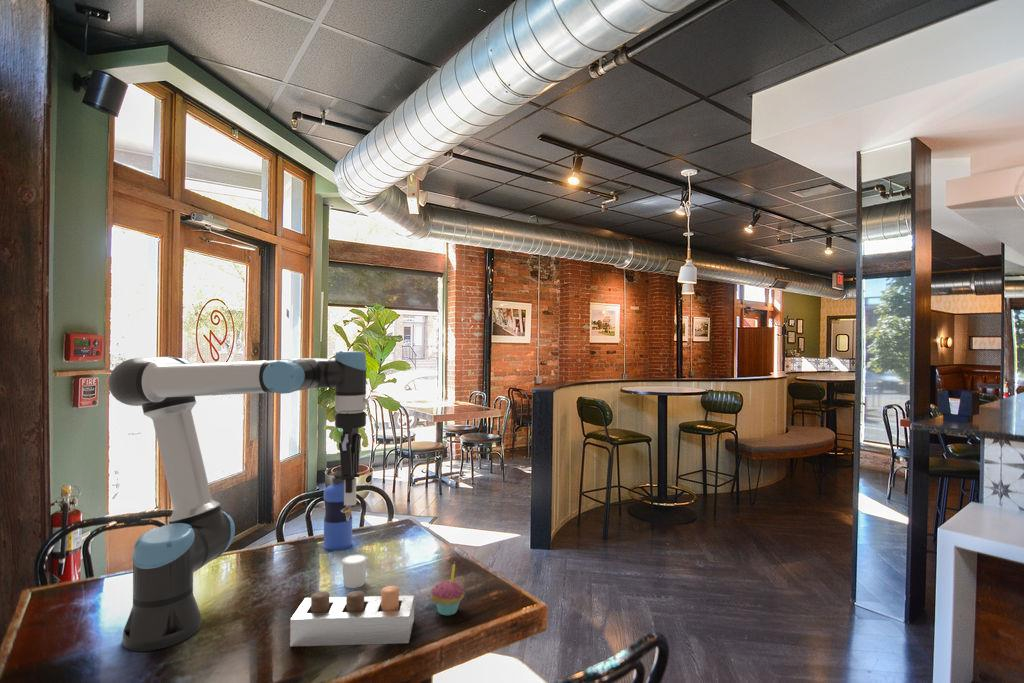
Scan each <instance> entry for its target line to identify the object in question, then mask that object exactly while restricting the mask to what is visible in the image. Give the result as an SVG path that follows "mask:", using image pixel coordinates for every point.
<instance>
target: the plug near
mask: <svg viewBox="0 0 1024 683" xmlns="http://www.w3.org/2000/svg"><path fill="white" fill-rule="evenodd" d="M329 597H330V593H329V592H328V591H318V592H315V593H313V594H312V595H311V596H310V598H311V613H328V612H329Z"/></svg>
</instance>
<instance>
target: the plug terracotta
mask: <svg viewBox="0 0 1024 683" xmlns="http://www.w3.org/2000/svg"><path fill="white" fill-rule="evenodd" d="M380 591H381V592H380V594H381V611H399V596H400V587H398V586H396V585H387V586H384V587H382V589H381V590H380Z"/></svg>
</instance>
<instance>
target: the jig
mask: <svg viewBox="0 0 1024 683" xmlns="http://www.w3.org/2000/svg"><path fill="white" fill-rule="evenodd" d="M414 621H415V595H399V611H381V596H379V595H377V596H375V595H374V596H370V595H369V596H364V612H346V596H335V597H334V596H333V597H332V596H329V612H328V613H311V597H304V599H303V601H302V602H301V603H300V605H299V606H298V608H297V609H296V611H295V612H294V613H293V615H292V617H290V620H289V622H290V631H289V632H290V633H289V635H290V636H289V638H290V642H289V646H290V647H291V648H292V647H317V646H319V647H320V646H321V647H322V646H323V647H324V646H326V647H327V646H350V645H351V646H352V645H353V646H356V645H358V646H359V645H361V646H362V645H388V644H389V645H390V644H409V643H410V639H411V635H412V632H413V631H412V630H413V626H414Z"/></svg>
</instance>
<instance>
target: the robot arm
mask: <svg viewBox="0 0 1024 683" xmlns="http://www.w3.org/2000/svg"><path fill="white" fill-rule="evenodd" d="M366 356H367V355H366V353H365V351H362V350H337V351H336V352H335V356H334V357H333V358H314V357H313V358H309V357H308V358H306V357H300V358H292V359H289V358H288V359H276V360H275V359H273V360H254V361H253V360H251V361H231V362H230V361H229V362H209V363H208V362H206V363H203V362H202V363H192V362H190V361H189V360H186V359H184V358H181V357H173V356H159V357H158V356H157V357H134V358H130V359H127V360H125V361H122V362H120V363H119V364H117V365H116V366H115V367H114V368H113V369H112V371H111V372H110V373H109V377H108V381H107V382H108V389H109V391H110V394H111V395H112V396H113V398H114V399H115V400H117V401H119V402H120V403H122V404H125V405H127V406H133V407H139V406H141V408H142V411H143V415H144V416H146V417H148V418H150V419H151V420H152V422H153V427H154V432H155V436H156V441H157V444H158V448H159V453H160V458H161V462H162V466H163V470H164V475H165V479H166V482H167V487H168V492H169V496H170V501H171V504H172V509H173V511H172V514H171V515H170V517H169V518H168V524H164V525H163V524H162V526H156V527H154V528H151V529H149V530H148V531H147V530H146V531H145V532H144V533H142V534H141V535H140V536H139V537H138V538H137V540H136V541H135V543H134V547H133V553H132V558H131V559H132V566H133V567H132V569H133V570H132V607H131V610H130V612H129V616H128V618H127V621H126V623H125V626H124V628H123V631H122V646H123V647H124V649H126V650H128V651H133V652H150V651H156V650H157V649H158V650H162V649H165V648H169V647H171V646H174V645H177V644H180V643H182V642H183V641H186V640H189V638H191V637H192V636H194V635H195V634H196V633H198V631H199V630H200V629H201V626H202V614H201V611H200V609H199V605H198V603H197V600H196V598H195V596H194V573H195V572H197V571H198V570H200V569H202V568H203V567H204V566H206V565H207V564H209V563H211V562H212V561H215V560H216V559H217V558H219V557H220V556H221V555H222V554H223V553H225V551H226V550H228V549H229V547H230V546H231V545H232V543H233V541H234V539H235V533H236V529H235V528H236V527H235V522H234V520H233V518H232V517H231V515H230V514H227V512H225V511H224V510H222V508H221V503H220V502H218V501H216V500H214V499H213V498H212V494H211V491H210V490H211V489H210V485H209V482H208V477H207V474H206V469H205V468H206V467H205V464H204V460H203V456H202V452H201V447H200V442H199V438H198V434H197V430H196V426H195V425H196V424H195V422H194V418H193V413H192V410H193V408H194V406H195V405H196V404H197V401H196V397H201V396H204V397H205V396H225V395H226V396H227V395H228V396H229V395H248V394H253V395H254V394H281V395H282V394H283V395H284V394H291V393H294V392H299V391H304V390H309V389H327V388H329V389H334V390H335V393H334V395H335V396H334V400H335V401H334V410H335V411H336V413H334V426H335V428H337V429H342V434H341V435H340V442H339V443H338V448H339V455H340V456H339V457H340V470H341V475H342V476H341V478H340V479H341V480H344V505H351V506H356V505H357V478H360V477H361V474H360V473H359V472H360V468H359V466H360V452H361V451H360V450H361V439H362V435H361V434H360V433H359V429H360V428H364V427H366V425H367V412H366V411H365V410H366V409H367V406H366V405H367V403H368V402H369V399H368V398H367V370H368V368H367V359H366V358H367V357H366ZM161 648H162V649H161Z"/></svg>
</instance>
